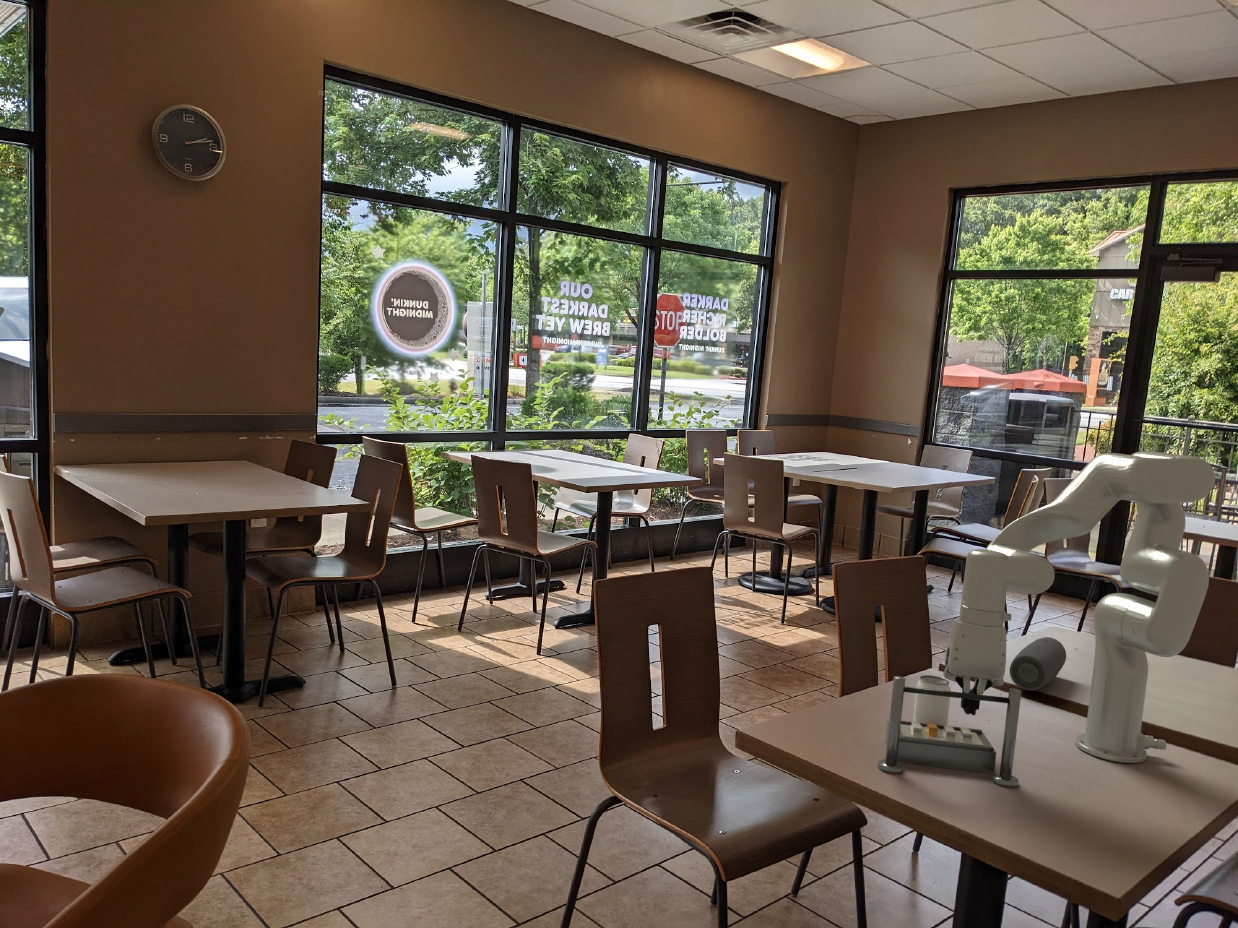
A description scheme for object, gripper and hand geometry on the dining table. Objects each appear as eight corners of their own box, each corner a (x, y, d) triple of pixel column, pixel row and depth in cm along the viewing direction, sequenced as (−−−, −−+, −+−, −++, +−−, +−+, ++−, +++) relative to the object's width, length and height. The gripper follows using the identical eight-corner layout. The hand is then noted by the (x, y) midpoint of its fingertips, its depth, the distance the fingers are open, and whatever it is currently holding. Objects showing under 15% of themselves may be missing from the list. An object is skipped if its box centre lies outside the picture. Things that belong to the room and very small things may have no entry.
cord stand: (1014, 778, 172) (1024, 687, 170) (1021, 788, 168) (1031, 695, 166) (876, 762, 175) (885, 672, 174) (879, 771, 171) (888, 680, 169)
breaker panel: (980, 752, 184) (983, 723, 183) (993, 773, 174) (997, 742, 173) (885, 741, 186) (888, 712, 185) (893, 761, 176) (896, 731, 176)
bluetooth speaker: (1026, 669, 242) (1031, 631, 241) (1066, 678, 237) (1070, 639, 236) (1004, 690, 224) (1008, 648, 223) (1046, 700, 218) (1051, 658, 217)
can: (947, 746, 186) (953, 686, 184) (913, 741, 187) (919, 682, 186) (943, 734, 192) (949, 676, 191) (909, 729, 193) (915, 672, 192)
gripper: (1017, 616, 179) (1005, 710, 181) (935, 607, 181) (924, 700, 182) (1029, 626, 171) (1016, 724, 173) (943, 616, 173) (931, 713, 175)
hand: (969, 712), depth 178 cm, fingers closed
